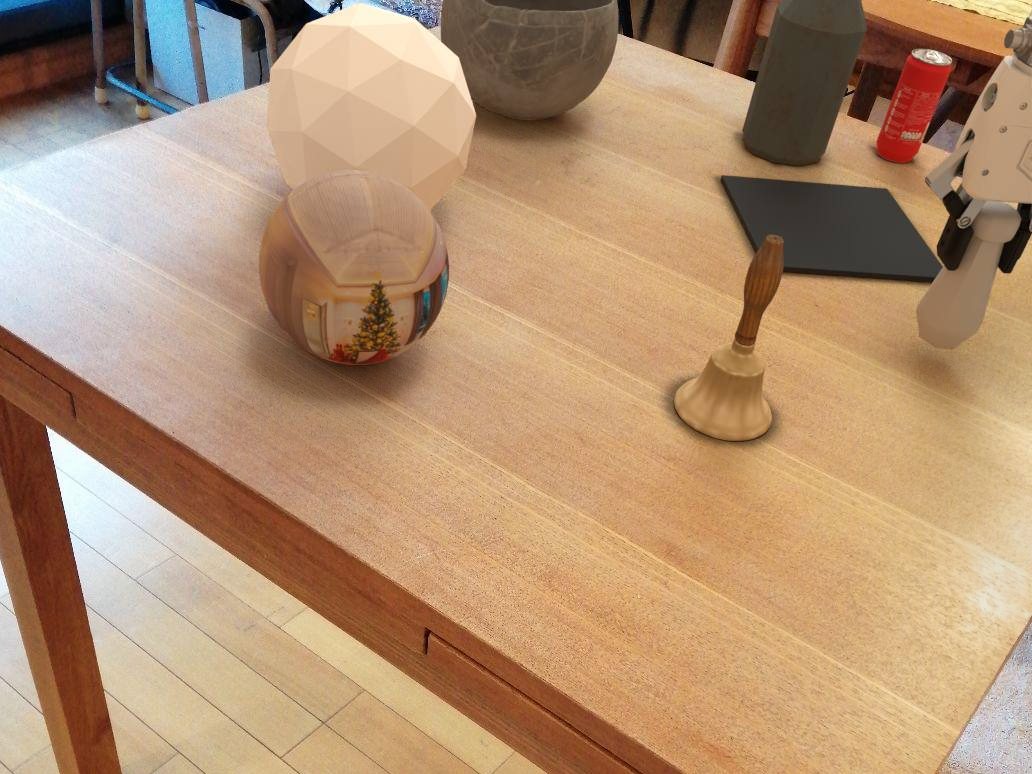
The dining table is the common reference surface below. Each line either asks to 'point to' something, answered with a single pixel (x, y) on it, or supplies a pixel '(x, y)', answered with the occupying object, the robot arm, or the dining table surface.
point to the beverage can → (913, 105)
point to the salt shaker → (967, 281)
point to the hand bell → (737, 363)
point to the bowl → (531, 51)
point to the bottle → (803, 79)
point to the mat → (833, 228)
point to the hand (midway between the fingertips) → (973, 262)
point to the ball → (371, 102)
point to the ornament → (353, 267)
